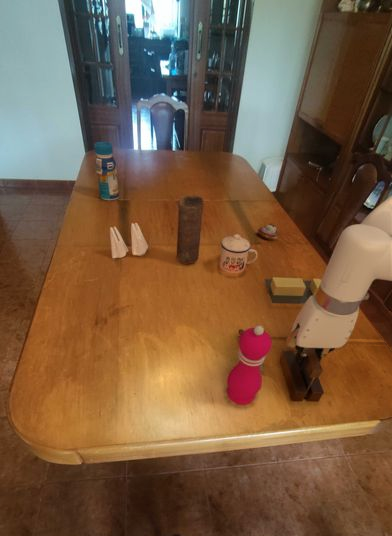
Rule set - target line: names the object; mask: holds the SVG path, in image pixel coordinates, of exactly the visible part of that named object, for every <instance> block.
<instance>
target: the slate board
mask: <svg viewBox="0 0 392 536" xmlns="http://www.w3.org/2000/svg"><path fill="white" fill-rule="evenodd" d="M302 280H303V279H302ZM264 282H265V285H266V286H265V287H266V288H267V292H268V295H269V298H270V301H271V303H272V304H288V305H289V304H292V305H304V304H305V302H306V301H307V300H308V298H309V297H310V296H312V295H313V294H312V292H311V290H310V288H309V287H310V284H311V282H312V280H303V282H304V284H305V286H306V289H305V291H304V294H303V296H286V295H273V293H272V290H271V287H270V285H271V282H272V278H264Z"/></svg>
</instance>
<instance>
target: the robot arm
mask: <svg viewBox="0 0 392 536" xmlns="http://www.w3.org/2000/svg"><path fill="white" fill-rule="evenodd" d="M324 270H325V271H324V273H323V276H322V278H321V282H320V285H319V287H318V290H317V292H316V294H315V295H312V296H310V297H309V298H308V300H307V301H306V302H305V304H302V307H301V309H300V311H299V312H298V314H297V316H296V318H295V320H294V322H293V324H292V327H291V334H290V335H289V336H288V337H287V338H286V339H285V343H286V346H287V347H290V348H292V349H295V350H296V351H298V354H297V356H296V355H295V356H296V358H295V361H296V364H298V367H299V369H300V370H302V369H303V368H304V366H305V364H306V362H307V360H308V356H307V354H308V352H309V350H310V348H314V349H315V352H316V354H317V357H318V359H319V362H320V363H321V360H322V359H323V358H326V357H327V355H328V354H329V353H332V352H333V351H335V350H338V349H343V348H345V347H346V346H347V342H348V340H349V339H350V337H351V335H352V332H353V330H354V328H355V326H356V323H357V321H358V317H359V314H360V305H361V303H362V302H363V301H368V300H369V298H370V294H369V292H368V291H369V290H370V287H371V285H372V283H373V281H375V280H382V281H389V282H392V195H391V196H388V198H387V199H385V200H384V201H383V202H381V203H380V204H379V205H377V206H376V207H375V208H374V209H373V210H372V211H370V212H369V214H368V215H366V217H365V218H364V219H363V220H362V221H361V223H356V224H351V225H349V226H347V227H345V228H344V229H343V230H342V231H341V233H340V235H339V237H338V239H337V241H336V245H335V247H334V249H333V252H332V254H331V256H330V258H329V261H328V263H327V266H326V268H325V269H324Z"/></svg>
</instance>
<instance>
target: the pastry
mask: <svg viewBox="0 0 392 536" xmlns="http://www.w3.org/2000/svg"><path fill="white" fill-rule="evenodd" d="M257 235H258V236H259V237H260V238H261V239H263V240H266V241H275V240H277V239H278V238H279V234H278V229H277V226H276V225H275V224H274V223H273V222H271V223H268V224H267V225H264V226H260V227H259V229H258V230H257Z"/></svg>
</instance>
